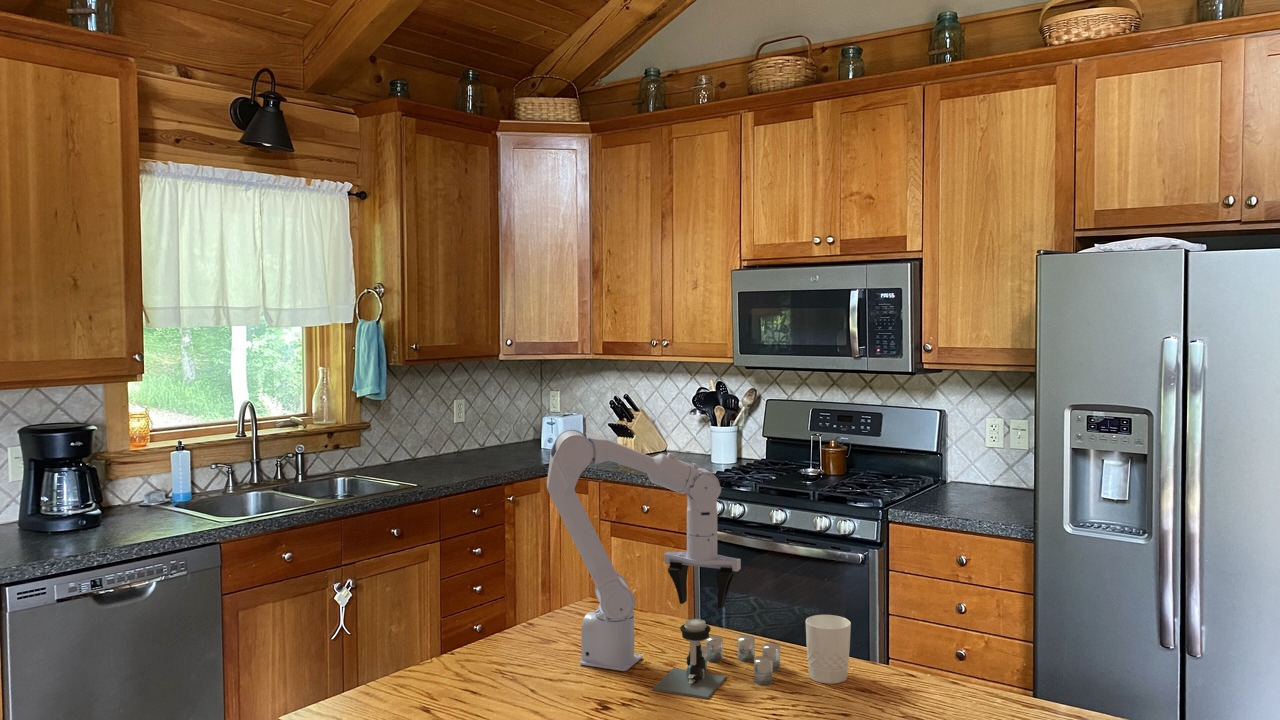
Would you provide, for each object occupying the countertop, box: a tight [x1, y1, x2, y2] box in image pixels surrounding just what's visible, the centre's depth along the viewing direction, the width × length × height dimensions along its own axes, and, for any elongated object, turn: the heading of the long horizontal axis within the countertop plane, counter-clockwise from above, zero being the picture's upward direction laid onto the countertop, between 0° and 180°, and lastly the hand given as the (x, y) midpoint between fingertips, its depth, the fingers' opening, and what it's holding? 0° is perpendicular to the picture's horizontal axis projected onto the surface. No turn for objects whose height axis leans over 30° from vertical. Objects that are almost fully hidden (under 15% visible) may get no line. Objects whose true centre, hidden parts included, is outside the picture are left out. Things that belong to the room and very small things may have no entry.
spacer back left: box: [704, 635, 724, 664], centre depth 178 cm, size 3×3×4 cm
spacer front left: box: [688, 644, 708, 673], centre depth 173 cm, size 3×3×4 cm
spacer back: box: [737, 634, 756, 663], centre depth 178 cm, size 3×3×4 cm
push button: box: [679, 618, 712, 684], centre depth 167 cm, size 7×5×10 cm
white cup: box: [805, 614, 852, 685], centre depth 169 cm, size 8×8×10 cm
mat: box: [652, 667, 727, 700], centre depth 166 cm, size 10×10×1 cm
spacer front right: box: [753, 655, 774, 686], centre depth 167 cm, size 3×3×4 cm
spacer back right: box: [761, 642, 781, 672], centre depth 174 cm, size 3×3×4 cm
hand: (702, 604), depth 179 cm, fingers open, 7 cm apart
